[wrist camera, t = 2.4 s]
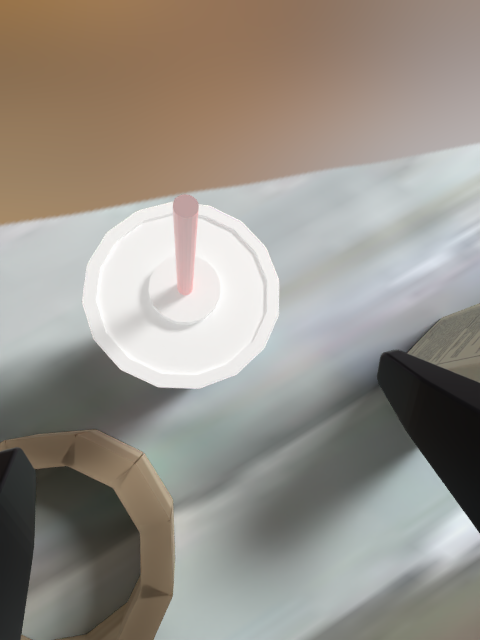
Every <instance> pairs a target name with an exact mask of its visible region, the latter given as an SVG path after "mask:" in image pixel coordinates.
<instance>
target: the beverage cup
mask: <svg viewBox="0 0 480 640" xmlns="http://www.w3.org/2000/svg"><path fill="white" fill-rule="evenodd" d="M82 303H83V307H84V310H85V313H86V316H87V320H88V323H89V326H90V329H91V333H92V336H93V339H94V340H95V341H96V343H97V344H98V345H99V346H100V347H101V348H102V349H103V351H104V352H105V353H106V354H107V355H108V356H109V357H110V358H111V360H112V361H113V362H114V363H115V364H116V365H117V366H118V367H119V369H120V370H122V371H124V372H126V373H128V374H131V375H133V376H135V377H137V378H139V379H141V380H143V381H146V382H148V383H150V384H152V385H154V386H156V387H159V388H186V389H200V388H203V387H205V386H208V385H211V384H213V383H216V382H219V381H221V380H224V379H227V378H229V377H232V376H235V375H237V374H238V373H239V372H240V371H241V370H242V369H243V368H244V367H245V366H246V365H247V364H248V363H249V362H250V361H251V360H253V359H254V358H255V357H256V356H257V355H258V354H259V353H260V352H261V351H262V350H263V349H264V348H265V346H266V343H267V341H268V339H269V337H270V334H271V332H272V330H273V327H274V325H275V323H276V320H277V318H278V316H279V278H278V275H277V273H276V270H275V268H274V266H273V263H272V261H271V258H270V256H269V253H268V251H267V248H266V246H265V245H264V244H263V243H262V242H261V241H260V240H259V239H258V238H257V237H256V236H255V235H254V234H253V233H252V232H251V231H250V230H249V229H248V227H247V226H246V225H245V224H244V223H243V222H242V221H240V220H238V219H236V218H234V217H232V216H230V215H228V214H226V213H224V212H222V211H220V210H218V209H215V208H213V207H211V206H209V205H201V204H198V202H197V200H196V199H195V198H194V197H192V196H190V195H185V194H184V195H180V196H178V197H177V198H175V200H174V202H169V203H165V204H161V205H157V206H154V207H150V208H146V209H142V210H138V211H136V212H134V213H133V214H132V215H130V216H129V217H127V218H126V219H125V220H123V221H122V222H121V223H119V224H118V225H116V226H115V227H114V228H112V229H111V230H109V231H108V232H107V233H106V234H105V236H104V238H103V239H102V241H101V242H100V244H99V246H98V247H97V249H96V251H95V252H94V254H93V255H92V257H91V259H90V260H89V262H88V263H87V268H86V276H85V283H84V291H83V298H82Z"/></svg>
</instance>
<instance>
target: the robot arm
mask: <svg viewBox="0 0 480 640" xmlns="http://www.w3.org/2000/svg"><path fill="white" fill-rule="evenodd" d="M377 379H378V383H379V385H380V387H381V388H382V390H383V392H384V394H385V395H386V397H387V399H388V401H389V402H390V404H391V406H392V408H393V409H394V411H395V413H396V414H397V416H398V418H399V420H400V421H401V423H402V425H403V426H404V428H405V430H406V431H407V433H408V434H409V436H410V437H411V439H412V440H413V441H414V443H415V444H416V446H417V447H418V448H419V450H420V451H421V453H422V454H423V455H424V457H425V458H426V459H427V461H428V462H429V464H430V465H431V466H432V468H433V469H434V471H435V472H436V473H437V475H438V476H439V477H440V479H441V480H442V482H443V483H444V484H445V486H446V487H447V489H448V490H449V491H450V493H451V494H452V495H453V497H454V498H455V500H456V501H457V502H458V504H459V505H460V507H461V508H462V509H463V511H464V512H465V513H466V515H467V516H468V518H469V519H470V520H471V522H472V523H473V525H474V526H475V527H476V529H477V530H478V531H479V533H480V382H477V381H475V380H472V379H470V378H467V377H465V376H462V375H460V374H457V373H455V372H452V371H450V370H447V369H445V368H442V367H440V366H437V365H435V364H432V363H430V362H427V361H425V360H422V359H420V358H417V357H415V356H412V355H410V354H407V353H405V352H402V351H400V350H391V351H387V352H384V353H382V355H381V357H380V362H379V368H378V373H377ZM35 503H36V473H35V470H34V468H33V466H32V464H31V463H30V461H29V459H28V458H27V456H26V455H25V453H24V451H23V450H22V449H21V448H19V447H15V448H11V449H7V450H3V451H0V640H21V633H22V626H23V620H24V613H25V606H26V599H27V592H28V586H29V579H30V572H31V565H32V558H33V550H34V536H35Z"/></svg>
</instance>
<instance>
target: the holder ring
mask: <svg viewBox="0 0 480 640" xmlns="http://www.w3.org/2000/svg"><path fill="white" fill-rule="evenodd" d="M15 447H19V448H21V449H22V450H23V451H24V453H25V455H26V456H27V458H28V459H29V461H30V463H31V464H32V466H33V468H34V469H41V468H51V467H61V466H68V467H70V468H72V469H75V470H77V471H79V472H81V473H83V474H85V475H87V476H89V477H91V478H93V479H95V480H97V481H99V482H101V483H104V484H106V485H108V486H110V487H112V488H113V489H114V491H115V492H116V494H117V496H118V497H119V499H120V501H121V502H122V504H123V506H124V507H125V509H126V511H127V512H128V514H129V516H130V517H131V519H132V521H133V522H134V524H135V526H136V527H137V529H138V531H139V532H140V566H141V574H140V576H139V579H138V581H137V583H136V585H135V587H134V589H133V591H132V593H131V595H130V598H129V600H128V602H127V603H125V604H124V605H123V606H122V607H120V608H119V609H118V610H117V611H115V612H114V613H113V614H112V615H110V616H109V617H108V618H107V619H105V620H104V621H103V622H102V623H100V624H99V625H98V626H97V627H95V628H94V629H93V630H92V631H90V632H89V633H88V634H85V635H79V636H73V637H67V638H61V639H55V640H153V639H154V637H155V635H156V633H157V630H158V628H159V626H160V624H161V621H162V619H163V617H164V615H165V612H166V610H167V608H168V606H169V603H170V601H171V599H172V597H173V586H174V569H175V541H174V514H173V500H172V497H171V495H170V494H169V492H168V491H167V489H166V487H165V486H164V484H163V482H162V481H161V479H160V478H159V476H158V474H157V473H156V471H155V470H154V468H153V466H152V465H151V463H150V461H149V460H148V458H147V457H146V455H145V453H144V454H143V452H142V451H140V450H137V449H135V448H133V447H131V446H129V445H127V444H125V443H123V442H121V441H119V440H117V439H115V438H113V437H111V436H109V435H107V434H105V433H103V432H101V431H98V430H95V429H92V430H80V431H68V432H57V433H45V434H36V435H31V436H25V437H20V438H14V439H9V440H5V441H3V442H1V443H0V451H3V450H7V449H11V448H15ZM142 454H143V455H142ZM21 640H32V639H30V638H27V637H25V636H23V635H21Z"/></svg>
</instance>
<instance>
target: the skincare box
mask: <svg viewBox="0 0 480 640" xmlns="http://www.w3.org/2000/svg"><path fill="white" fill-rule="evenodd" d="M407 354H410V355H412V356H415V357H417V358H420V359H422V360H425V361H427V362H430V363H432V364H435V365H437V366H440V367H442V368H445V369H447V370H450V371H452V372H455V373H457V374H460V375H462V376H465V377H467V378H470V379H472V380H475V381H477V382H480V303H479V304H477V305H474V306H471V307H469V308H466V309H464V310H461V311H458V312H456V313H453V314H450V315H448V316H445V317H443V318H441V319H440V320H439V321H438V322H437V323H436V324H435V325H434V326H433V327H432V328H431V329H430V330H429V331H428V332H427V333H426V334H425V335H424V336H423V337H422V338H421V339H420V340H419V341H418V342H417V343H416V344H415V345H414V346H413V348H412V349H411V350H410V351H409V352H408V353H407Z"/></svg>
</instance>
